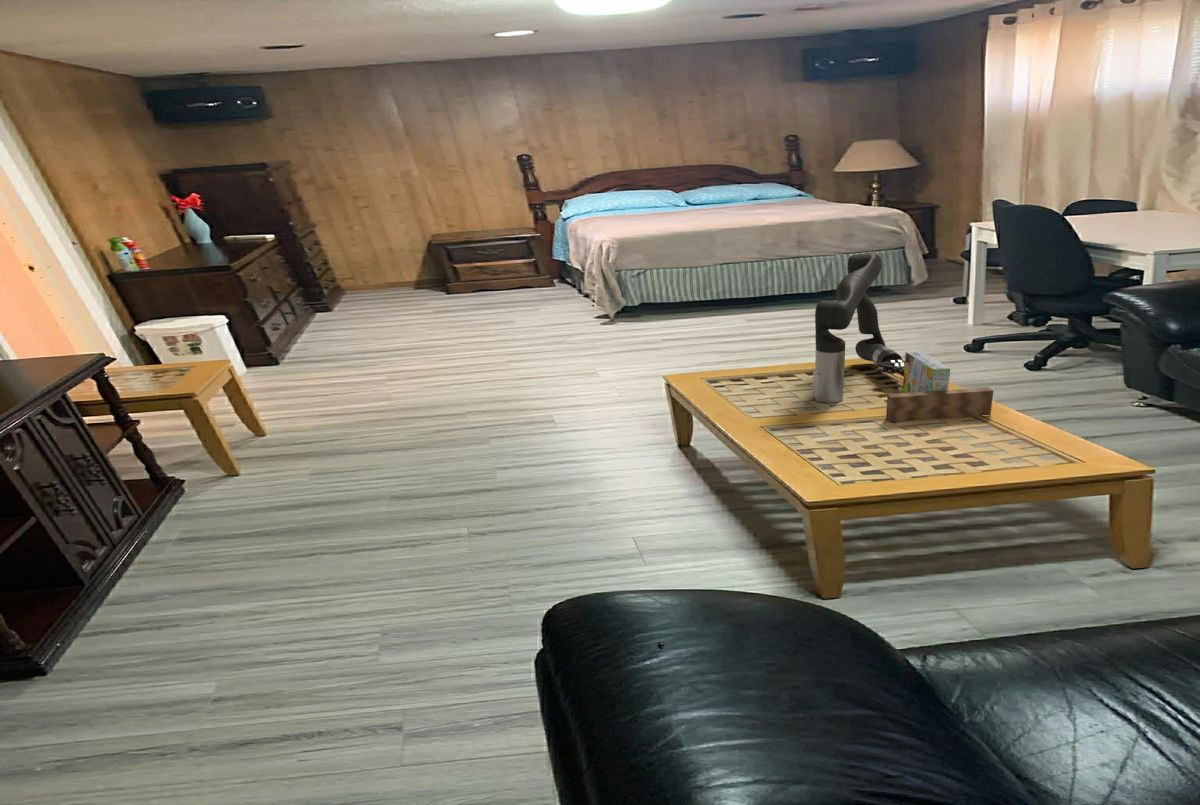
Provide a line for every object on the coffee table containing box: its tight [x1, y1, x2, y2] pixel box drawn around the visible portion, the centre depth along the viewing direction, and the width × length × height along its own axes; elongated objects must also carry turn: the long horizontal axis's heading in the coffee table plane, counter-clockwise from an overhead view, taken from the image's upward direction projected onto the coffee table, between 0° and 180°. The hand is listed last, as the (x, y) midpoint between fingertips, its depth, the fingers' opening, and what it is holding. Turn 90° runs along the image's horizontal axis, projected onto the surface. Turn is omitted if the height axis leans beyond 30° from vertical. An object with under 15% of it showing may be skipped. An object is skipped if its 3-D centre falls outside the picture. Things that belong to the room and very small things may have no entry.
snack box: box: [901, 350, 951, 393], centre depth 217 cm, size 21×6×15 cm, turn 0°
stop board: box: [885, 386, 994, 423], centre depth 207 cm, size 30×3×8 cm, turn 90°
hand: (906, 373), depth 229 cm, fingers closed
